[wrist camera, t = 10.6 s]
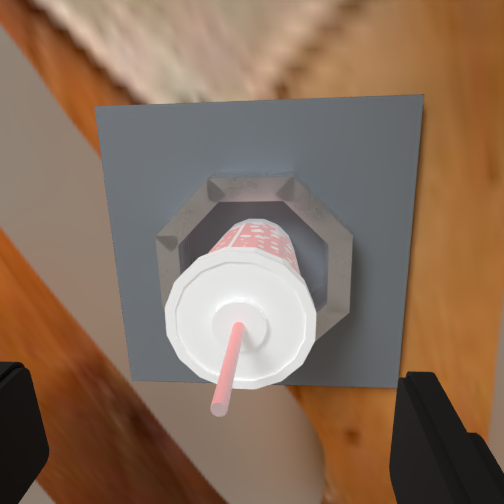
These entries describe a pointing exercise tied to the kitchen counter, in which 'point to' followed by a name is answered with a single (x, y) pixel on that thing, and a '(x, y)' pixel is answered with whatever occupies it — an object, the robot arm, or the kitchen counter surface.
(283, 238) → the beverage cup
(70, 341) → the kitchen counter surface
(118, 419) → the kitchen counter surface
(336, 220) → the steel collar
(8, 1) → the kitchen counter surface
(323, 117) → the plate
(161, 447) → the kitchen counter surface
